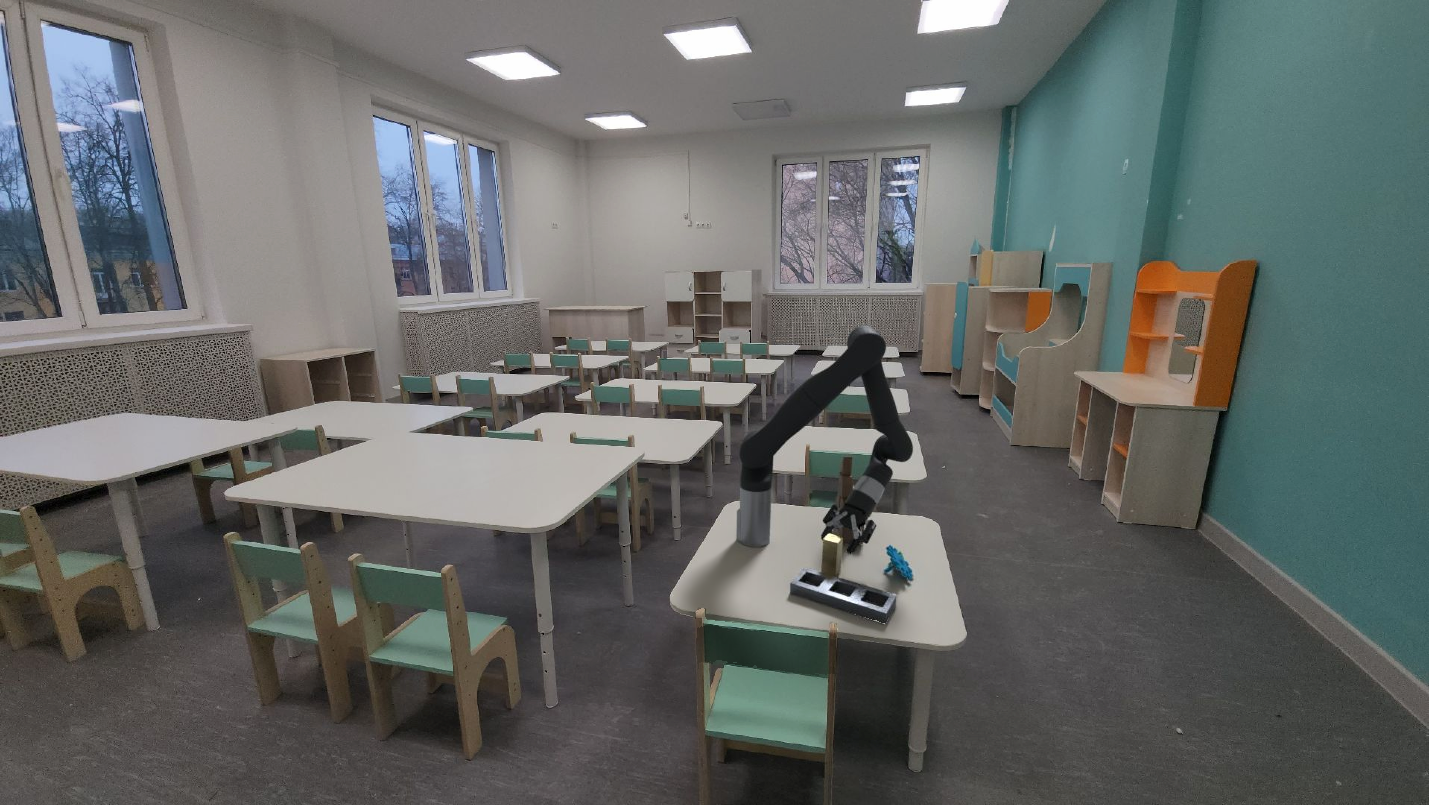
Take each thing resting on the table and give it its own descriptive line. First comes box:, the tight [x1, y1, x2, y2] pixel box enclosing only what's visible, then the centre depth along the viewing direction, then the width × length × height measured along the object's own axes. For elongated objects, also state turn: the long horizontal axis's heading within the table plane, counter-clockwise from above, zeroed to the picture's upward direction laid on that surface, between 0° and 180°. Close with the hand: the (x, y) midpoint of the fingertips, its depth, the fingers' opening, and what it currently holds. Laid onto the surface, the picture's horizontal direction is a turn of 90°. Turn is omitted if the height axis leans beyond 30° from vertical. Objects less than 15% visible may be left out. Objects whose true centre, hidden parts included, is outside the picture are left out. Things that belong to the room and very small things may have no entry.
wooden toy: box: [834, 455, 865, 545], centre depth 175 cm, size 15×7×25 cm, turn 178°
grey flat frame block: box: [789, 566, 898, 624], centre depth 142 cm, size 24×9×3 cm, turn 58°
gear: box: [883, 544, 914, 581], centre depth 154 cm, size 11×6×10 cm
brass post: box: [820, 533, 844, 577], centre depth 154 cm, size 4×4×10 cm
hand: (835, 546), depth 154 cm, fingers open, 8 cm apart
